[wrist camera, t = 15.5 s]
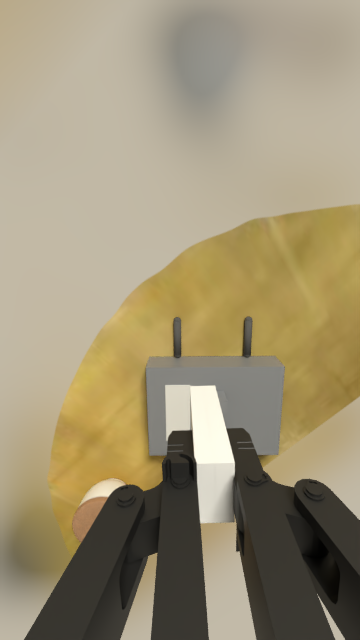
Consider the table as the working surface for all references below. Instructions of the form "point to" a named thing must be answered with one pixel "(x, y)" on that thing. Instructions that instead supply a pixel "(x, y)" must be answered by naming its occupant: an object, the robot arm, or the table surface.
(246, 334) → the router antennas
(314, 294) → the table surface
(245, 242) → the table surface
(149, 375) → the breaker box
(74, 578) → the robot arm
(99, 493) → the lidded jar
